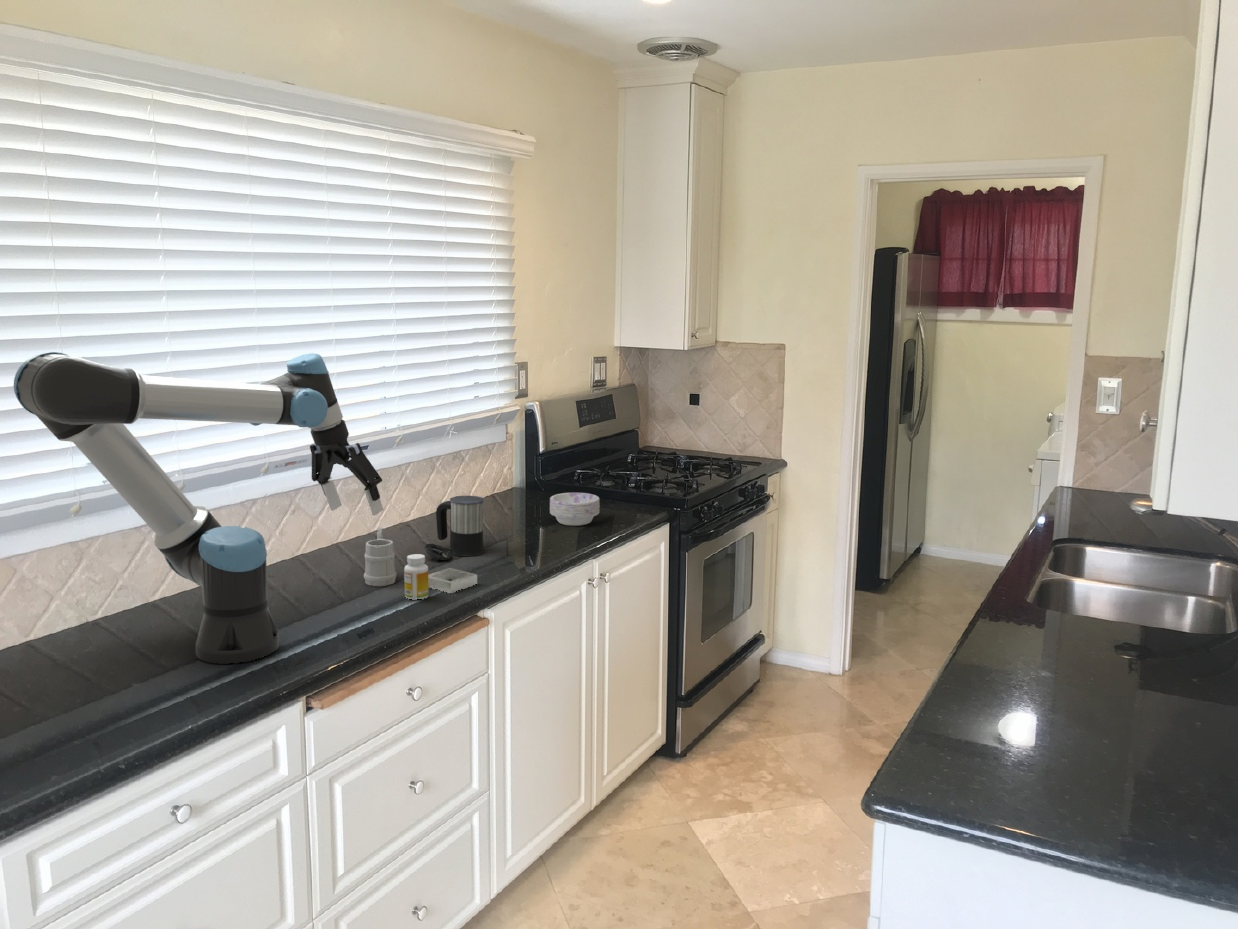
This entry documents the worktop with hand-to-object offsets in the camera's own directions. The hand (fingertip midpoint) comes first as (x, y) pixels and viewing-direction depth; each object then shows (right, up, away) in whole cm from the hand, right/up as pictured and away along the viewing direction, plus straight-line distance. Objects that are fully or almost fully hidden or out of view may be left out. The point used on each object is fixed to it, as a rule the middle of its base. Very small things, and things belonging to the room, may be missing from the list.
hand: (357, 510), depth 216 cm
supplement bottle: (+13, -20, +5) cm, 24 cm away
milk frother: (+15, -14, +40) cm, 45 cm away
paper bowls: (+45, -8, +78) cm, 90 cm away
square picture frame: (+19, -19, +14) cm, 30 cm away
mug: (+1, -18, +17) cm, 25 cm away
